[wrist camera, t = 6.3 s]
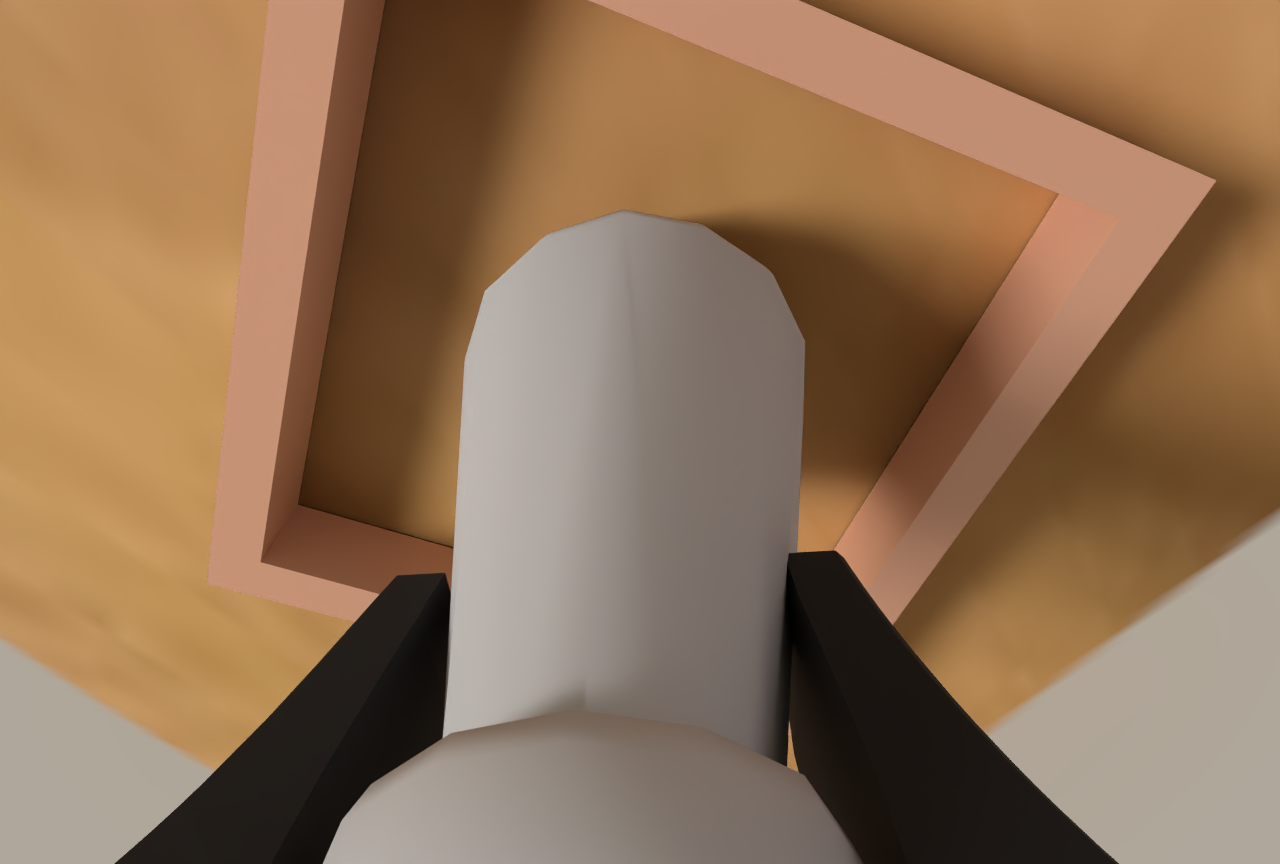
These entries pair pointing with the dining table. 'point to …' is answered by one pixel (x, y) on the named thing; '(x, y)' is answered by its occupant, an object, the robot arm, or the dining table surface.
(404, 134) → the dining table surface
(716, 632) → the salt shaker
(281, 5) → the salmon pink square frame
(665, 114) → the dining table surface
